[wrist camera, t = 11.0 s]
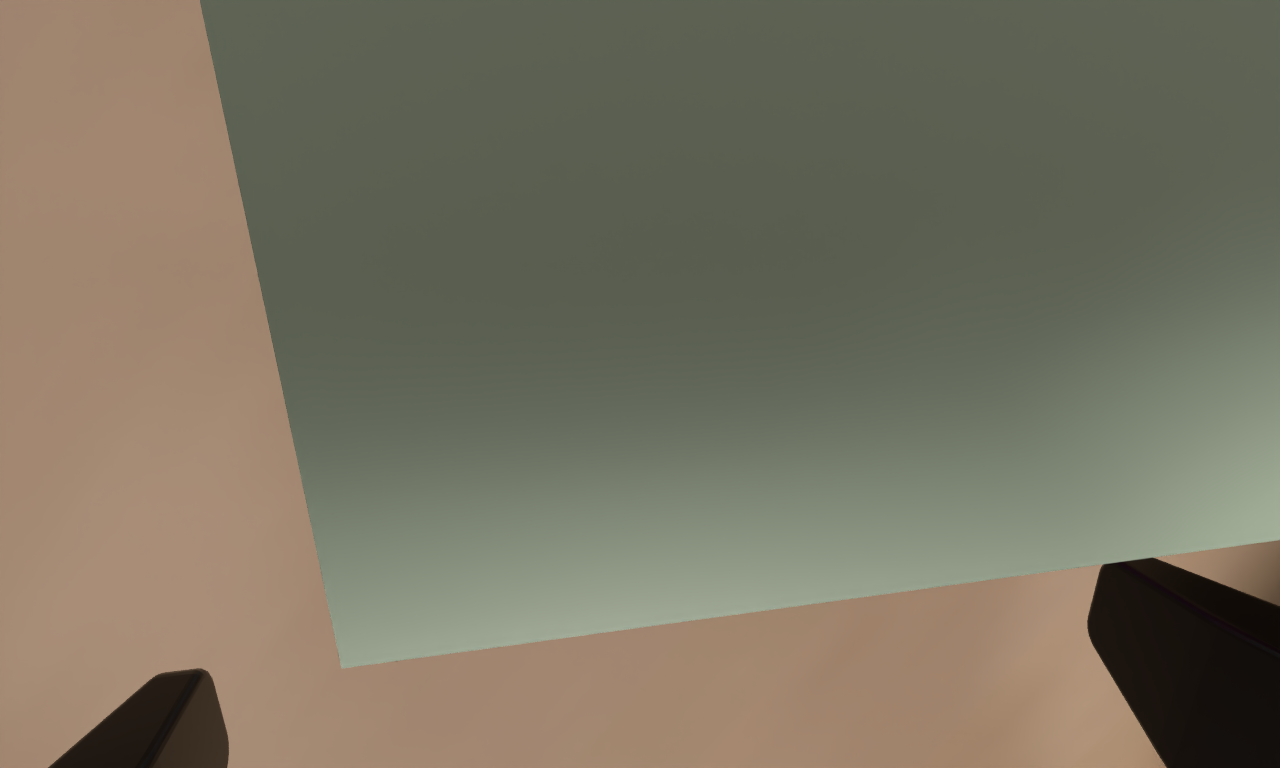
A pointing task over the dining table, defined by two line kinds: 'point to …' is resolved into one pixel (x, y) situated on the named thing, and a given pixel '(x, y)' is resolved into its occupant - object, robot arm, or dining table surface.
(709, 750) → the dining table surface
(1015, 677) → the dining table surface
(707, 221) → the sage cube
